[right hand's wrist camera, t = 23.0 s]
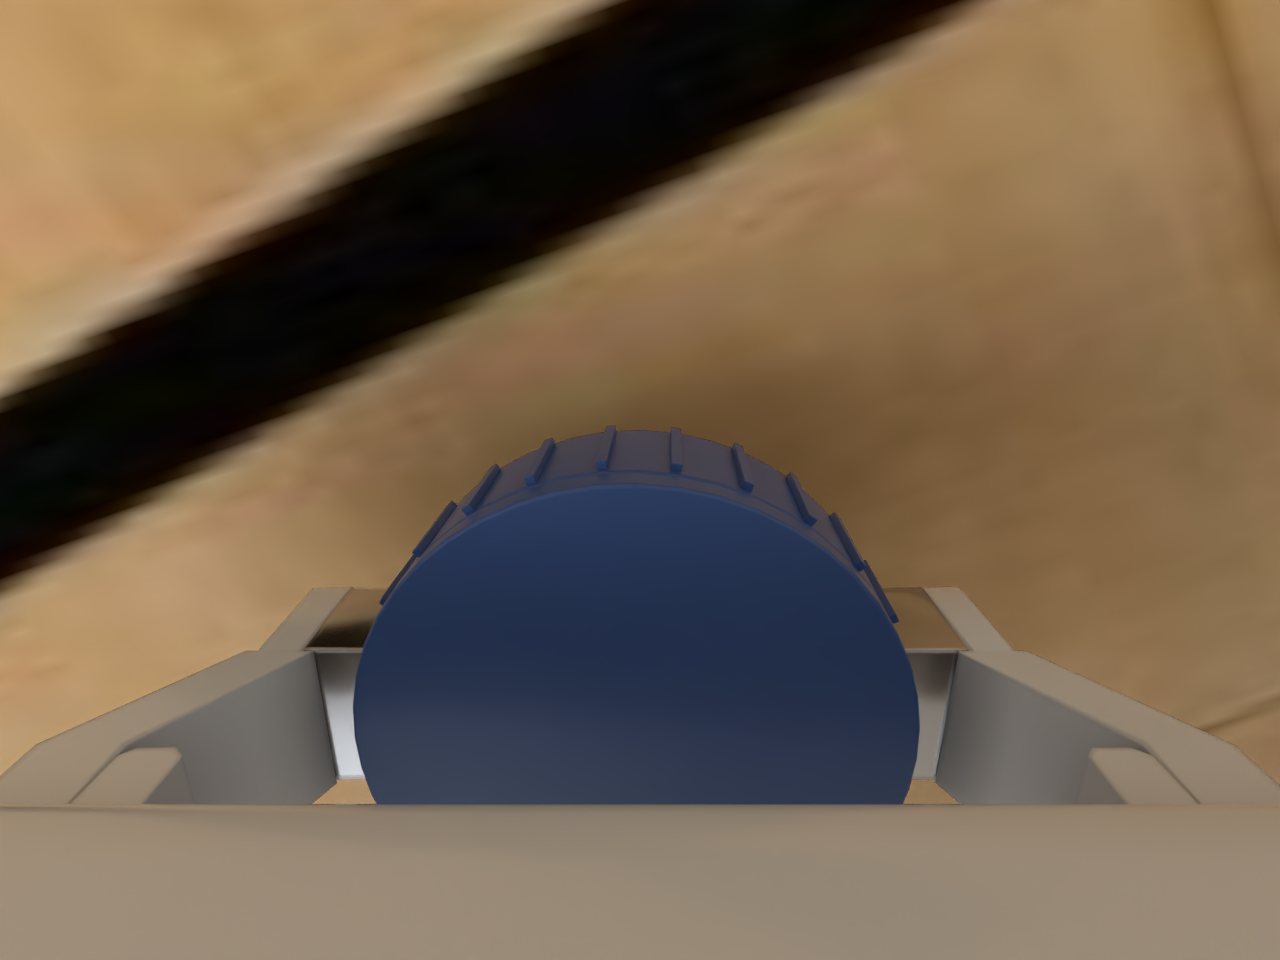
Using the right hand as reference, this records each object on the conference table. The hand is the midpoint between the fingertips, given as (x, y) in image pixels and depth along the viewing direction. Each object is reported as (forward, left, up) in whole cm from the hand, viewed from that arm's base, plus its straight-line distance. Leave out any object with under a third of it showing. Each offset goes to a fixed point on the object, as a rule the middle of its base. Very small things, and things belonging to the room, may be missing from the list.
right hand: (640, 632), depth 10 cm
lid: (0, 0, +2) cm, 2 cm away
